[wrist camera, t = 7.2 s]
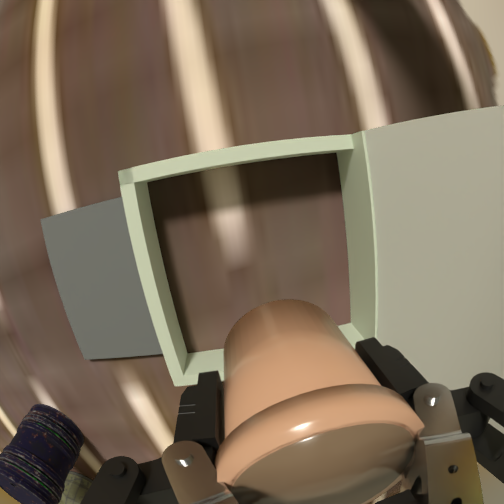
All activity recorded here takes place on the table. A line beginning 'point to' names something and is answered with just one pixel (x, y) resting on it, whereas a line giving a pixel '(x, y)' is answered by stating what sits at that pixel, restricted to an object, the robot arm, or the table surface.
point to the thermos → (75, 488)
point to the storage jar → (40, 456)
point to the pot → (307, 413)
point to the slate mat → (100, 281)
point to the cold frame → (380, 241)
